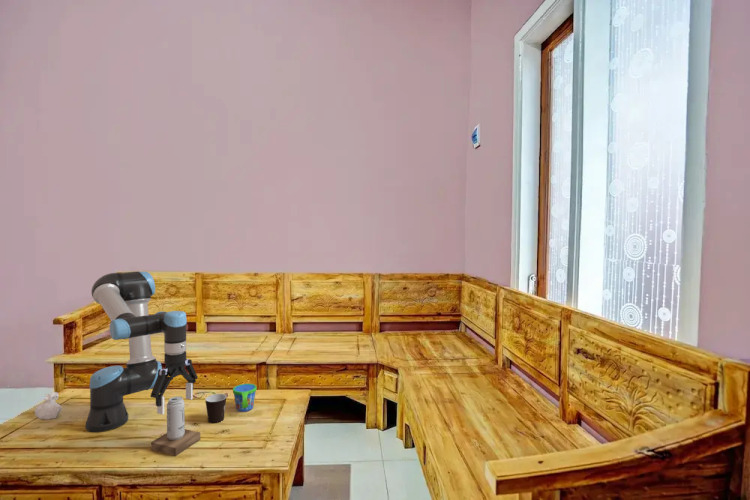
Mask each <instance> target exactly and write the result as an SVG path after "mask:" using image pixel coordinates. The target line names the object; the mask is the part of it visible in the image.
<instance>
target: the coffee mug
mask: <svg viewBox="0 0 750 500" xmlns="http://www.w3.org/2000/svg"><path fill="white" fill-rule="evenodd" d="M204 400H205V409H206V415H207V416H206V417H207V422H208V424H219V423H221V421H222V422H224V419H225V414H226V404H227V403H226V402H227V394H224V393H214V394H210V395H208V396H206V397H205V398H204Z"/></svg>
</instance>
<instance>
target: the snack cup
mask: <svg viewBox="0 0 750 500" xmlns="http://www.w3.org/2000/svg"><path fill="white" fill-rule="evenodd" d="M256 391H257V385H256V384H254V383H241V384H239V385H236V386H234V387H233V388H232V394H233V397H234V401H235V408H236V411H237V412H242V413H243V412H244V413H245V412H249V411H251V410H253V408H254V406H255V404H254V403H255V399H256V393H257V392H256Z"/></svg>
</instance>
